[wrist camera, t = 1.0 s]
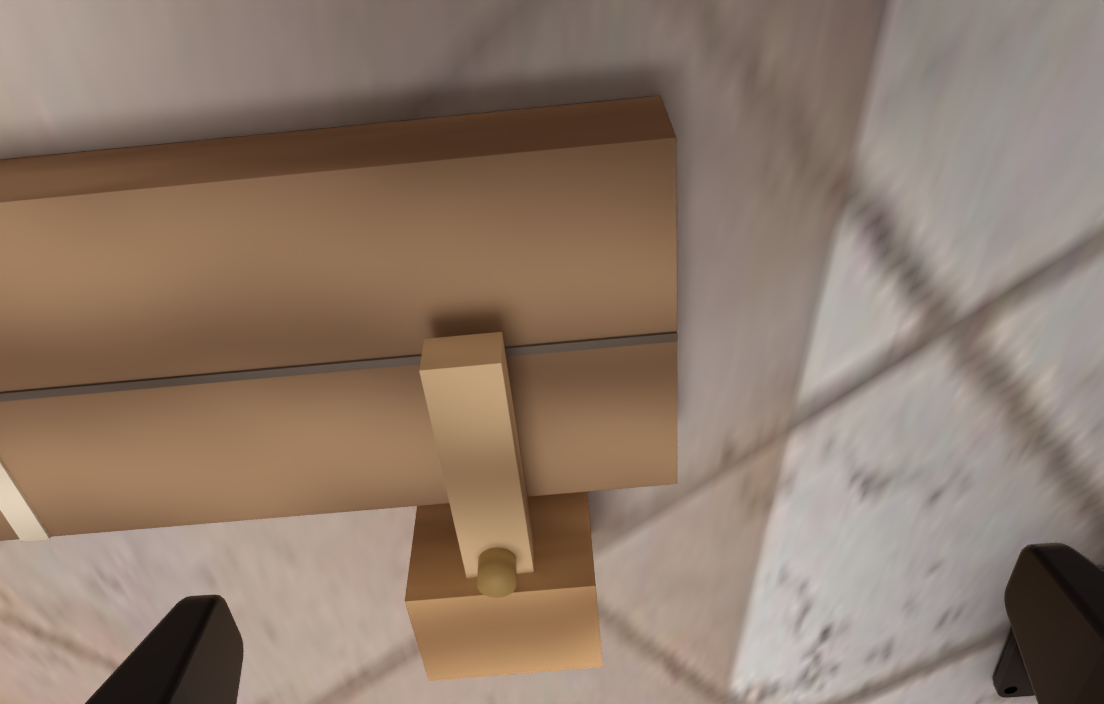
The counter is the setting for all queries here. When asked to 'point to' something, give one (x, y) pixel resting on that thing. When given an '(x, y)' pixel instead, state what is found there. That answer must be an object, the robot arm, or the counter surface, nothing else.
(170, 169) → the plank
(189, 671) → the robot arm
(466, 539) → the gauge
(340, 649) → the counter surface
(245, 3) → the counter surface
